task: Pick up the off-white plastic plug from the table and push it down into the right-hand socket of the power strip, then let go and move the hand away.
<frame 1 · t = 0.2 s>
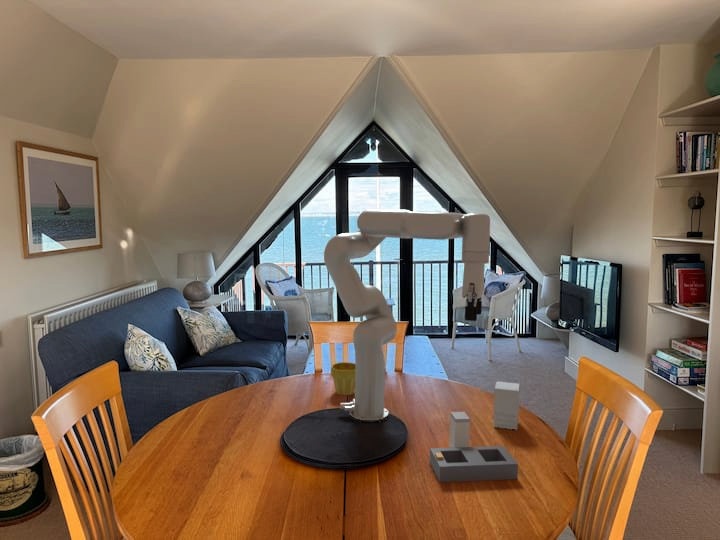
hand: (473, 317, 151), 36 cm above the table, tool pointing down, fingers open, 9 cm apart
plug: (458, 449, 149), on the table
supplement box: (505, 425, 167), on the table
power strip: (472, 470, 137), on the table
plant pot: (345, 392, 193), on the table
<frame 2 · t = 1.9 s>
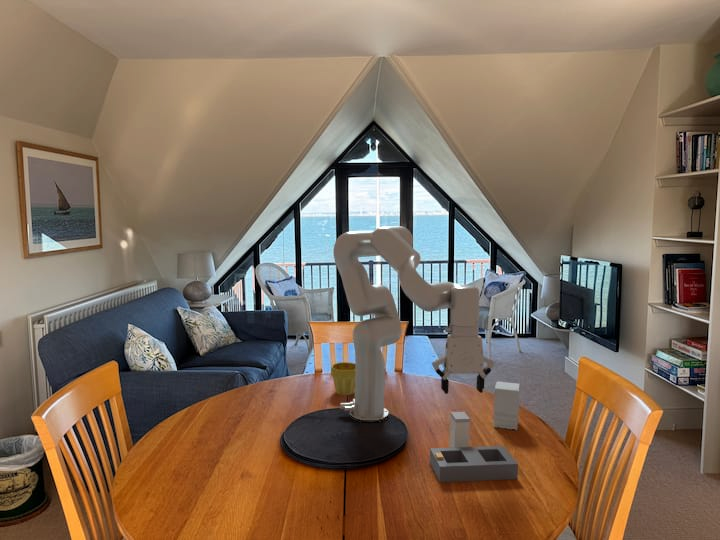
hand: (462, 391, 146), 17 cm above the table, tool pointing down, fingers open, 9 cm apart
nothing on the table moved.
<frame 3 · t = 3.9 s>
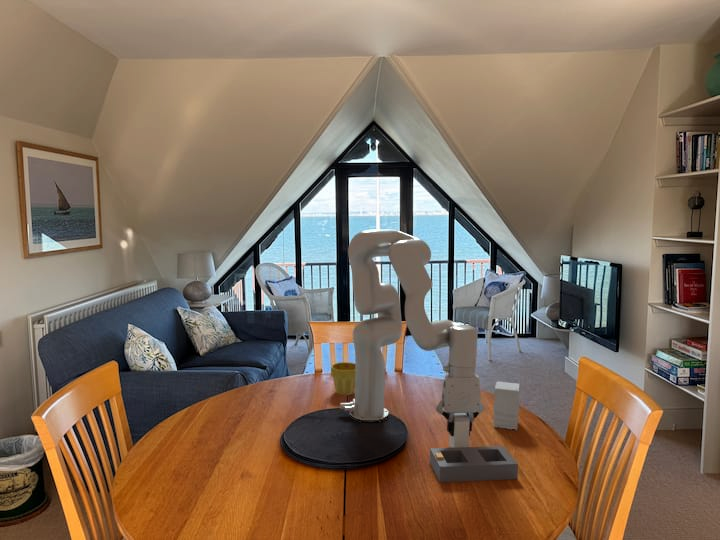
hand: (459, 433, 148), 5 cm above the table, tool pointing down, fingers closed on plug, 3 cm apart
plug: (458, 449, 148), on the table, touching gripper
everything else where it was.
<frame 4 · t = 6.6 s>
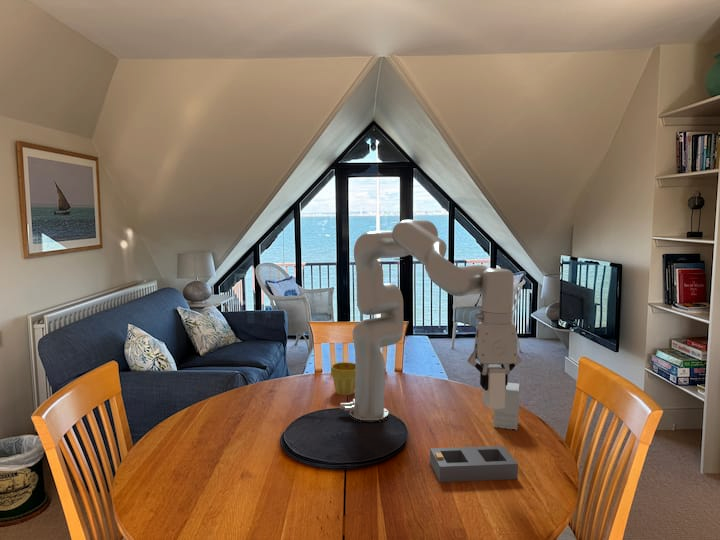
hand: (493, 387, 135), 22 cm above the table, tool pointing down, fingers closed on plug, 4 cm apart
plug: (493, 405, 135), point 17 cm above the table, touching gripper
everything else where it was.
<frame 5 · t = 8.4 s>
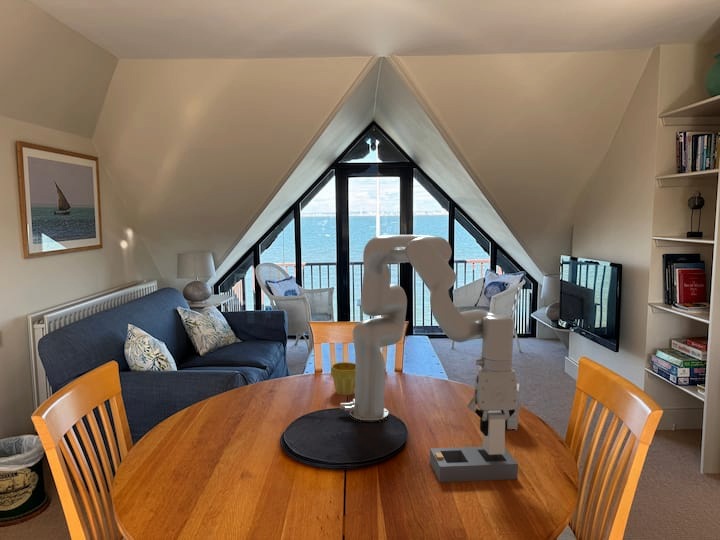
hand: (493, 432, 136), 10 cm above the table, tool pointing down, fingers closed on plug, 4 cm apart
plug: (493, 450, 136), point 6 cm above the table, touching gripper
everything else where it was.
when the fingers open (6 cm above the table, at t = 9.6 s): plug drops 2 cm, resting in power strip.
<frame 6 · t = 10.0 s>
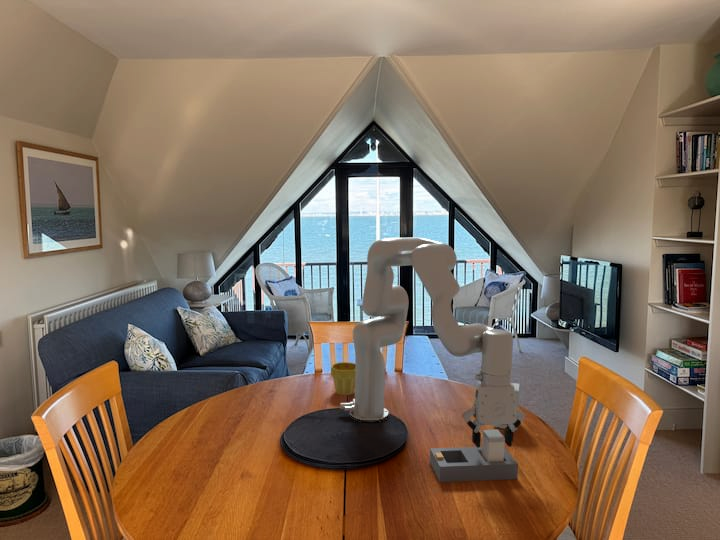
hand: (492, 444, 136), 7 cm above the table, tool pointing down, fingers open, 7 cm apart
plug: (491, 470, 137), resting in power strip
everything else where it was.
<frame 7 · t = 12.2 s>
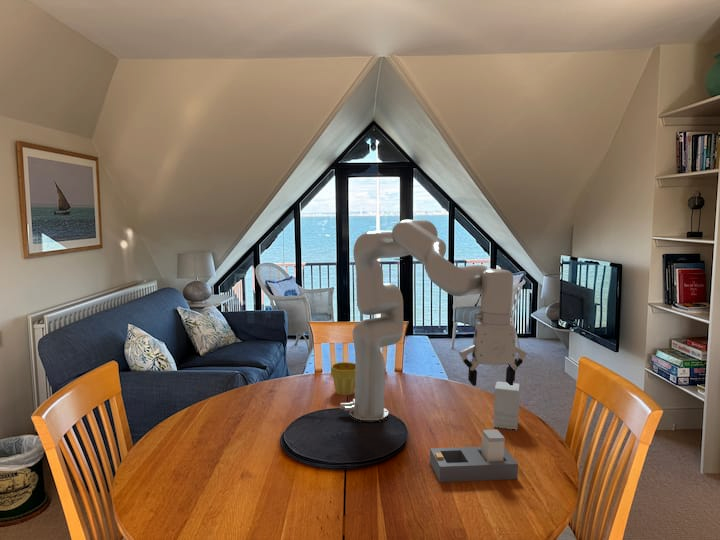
hand: (491, 383, 136), 23 cm above the table, tool pointing down, fingers open, 9 cm apart
nothing on the table moved.
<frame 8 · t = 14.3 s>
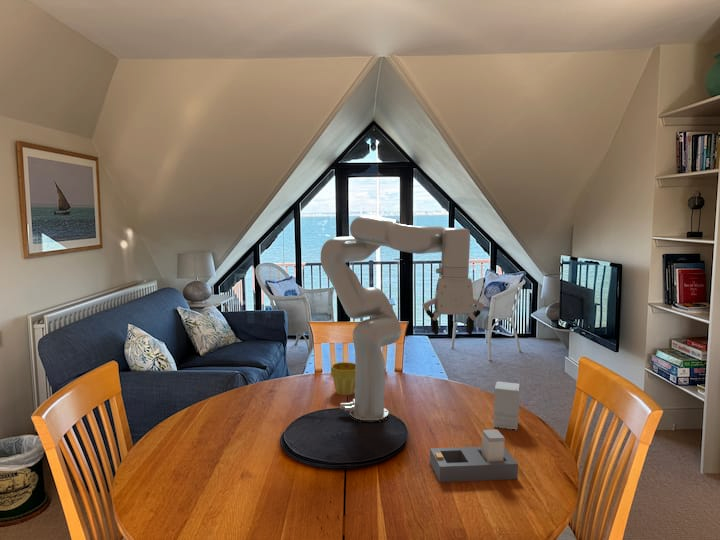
hand: (452, 333, 148), 32 cm above the table, tool pointing down, fingers open, 9 cm apart
nothing on the table moved.
at the end: plug 0.4 cm from the target spot on the power strip, point 0.0 cm above the power strip's base; plug tilted 0°; the gripper is holding nothing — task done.
